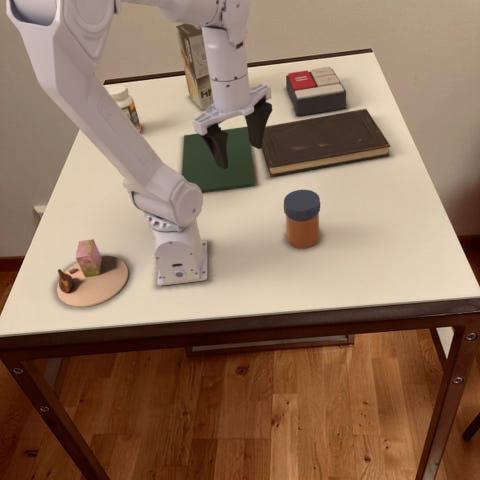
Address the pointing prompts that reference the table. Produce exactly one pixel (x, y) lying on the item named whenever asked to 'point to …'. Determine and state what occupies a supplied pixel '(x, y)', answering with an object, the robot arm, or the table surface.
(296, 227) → the jar
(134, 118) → the pill bottle
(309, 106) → the grey box
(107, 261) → the dessert plate
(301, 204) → the lid
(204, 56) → the coffee box
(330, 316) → the table surface
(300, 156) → the hardcover book
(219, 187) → the mat
